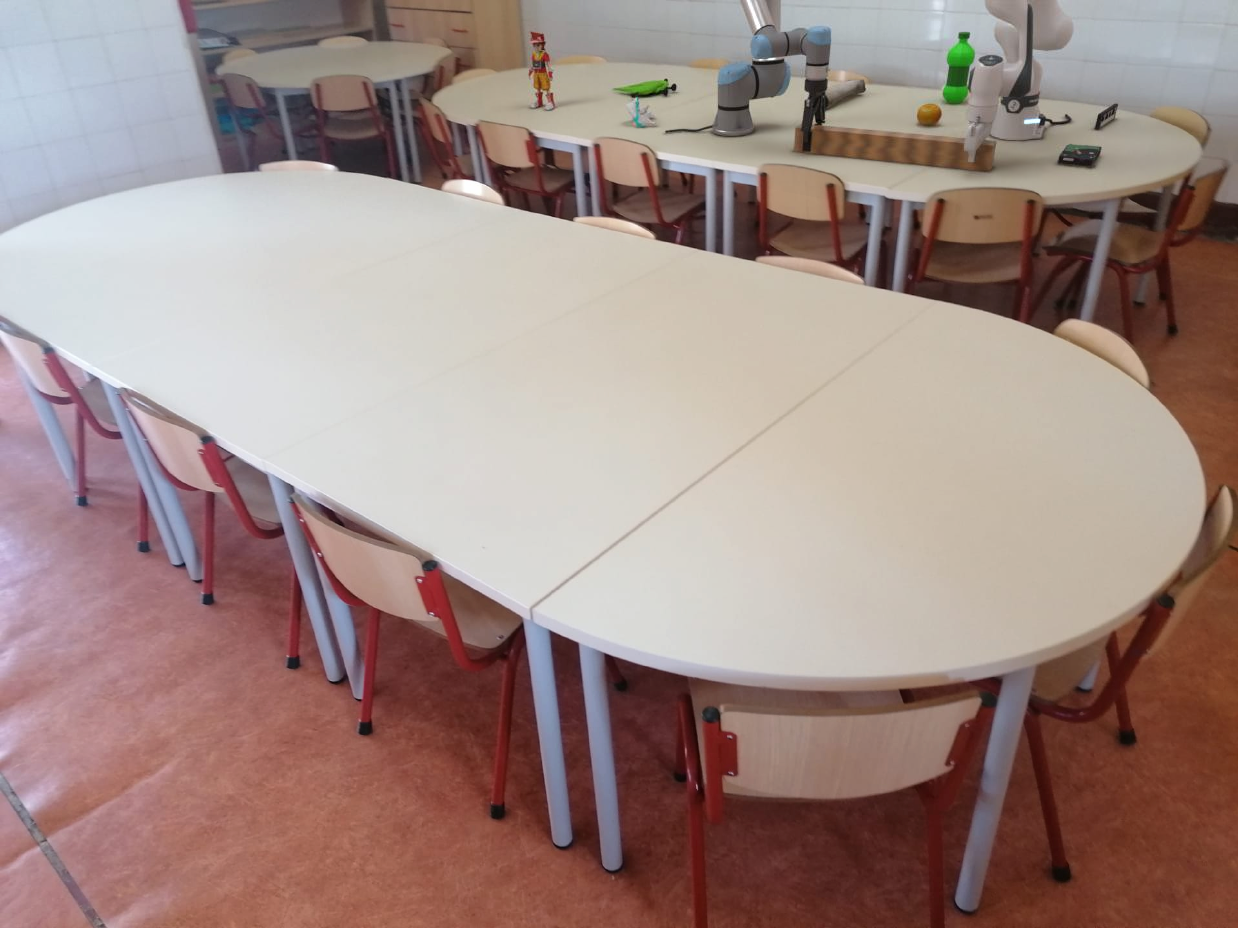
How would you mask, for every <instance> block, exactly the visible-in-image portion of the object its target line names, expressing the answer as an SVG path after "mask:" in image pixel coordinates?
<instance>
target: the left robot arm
mask: <svg viewBox="0 0 1238 928" xmlns="http://www.w3.org/2000/svg"><path fill="white" fill-rule="evenodd" d="M739 1H740V4H741V7H742V9H743V12H744V15H745V18H746V20H747V22H748V25H749V28H750V31H751V32H752V35H753V37H752V38H751V40H750V54H751V56H752V57H753V58H751V61H752V63H750V62H749V61H739V62H738V61H734V62H730V63H727V64H724V65H723V66H721V67H720V68H719V70H718V75H717V82H716V83H717V111H716V114H715V118H714V120H713V124H711V125H708V126H703V127H702V128H695V129H694V128H693V129H692V128H675V129H667V130H664V133H665V134H669V133H676V132H689V133H697V132H701V131H705V130H708V129H712V133H713V134H715V135H717V136H721V137H741V136H746V135H750V134H752V133H754V127H755V126H754V122H753V118H752V115H751V111H750V101H754V100H760V99H766V98H767V99H768V98H775V97H780V96H782V95H784V94H785V93H786V92H787V90H788V88H789V86H790V84H791V83H790V82H791V76H792V75H791V74H792V73H791V68H790V64H789V63H788V62H787V61H785V57H791V56H793V57H794V56H801V55H803V56H806V57H805V70H804V77H805V79H804V87H803V89H804V92H807V93H808V97H807V99H804V104H803V106H804V107H803V114H802V120H801V124H802V127H801V132H803V148H802V151H808V152H810V151H811V138H812V131H811V128H812V125H824V124H826V109H825V94H826V92H825V91H826V90H827V87H828V83H829V82H828V81H829V80H828V77H829V72H830V71H831V69H830V58H831V45H832V28H830V26H827V25H815V26H814V25H813V26H811V27H808V28H805V27H797V28H796V27H795V28H794V29H792V30H787V31H782V29H781V26H782V21H781V20H782V19H781V18H782V0H739ZM814 122H815V123H814ZM806 127H807V128H806Z"/></svg>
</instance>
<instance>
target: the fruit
mask: <svg viewBox="0 0 1238 928" xmlns="http://www.w3.org/2000/svg"><path fill="white" fill-rule="evenodd" d="M942 116H943V111H942V109H941V107H940V106H939V105H937V104H936V103H926V104H923V105H921V106H920V107H919V108H918V110H917V112H916V119H917V121H918V122H919V123H920V124H921V125H923V126H932V125H935V124H937V123H938V122H939V121H940V120H941V118H942Z"/></svg>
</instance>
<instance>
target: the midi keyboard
mask: <svg viewBox="0 0 1238 928" xmlns="http://www.w3.org/2000/svg"><path fill="white" fill-rule="evenodd" d="M1118 106H1119V103H1114V104H1112V105H1110V106H1109V107H1107V108H1106V109H1104V110H1103V111H1101V112H1099V113H1098V114H1097V116H1096V120H1095V121H1096V122H1095V126H1094V130H1100V129H1101V128H1102V127H1103V126H1104V125H1106V124H1108V123H1109V122H1111V121H1112V120H1113V119H1115V118H1116V115H1117V111H1118Z"/></svg>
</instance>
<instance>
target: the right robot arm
mask: <svg viewBox="0 0 1238 928" xmlns="http://www.w3.org/2000/svg"><path fill="white" fill-rule="evenodd" d="M1059 4H1060V3H1059V2H1058V0H984V6H985V9H986V10H987V11H988V13H989V14H990V15H992V16H993V17H995V18H997V20H996V22H995V25H994V28H993V34H994V39H995V41H996V43H998V45H999V46H1000V48H1001V49H1002V51H1003V54H1004V57H1005V60H1004V58H1003V57H1002V56H1000V55H997V54H986V55H983V56H981V57H979V58H978V59H977V61H976V64H975V66H974V67H973V68H972V69H971V70H969V76H968V82H967V86H968V92H969V93H970V97H969V99H968V102H967V107H966V112H965V120H966V121H968V127H967V130H966V134H965V138H966V139H965V144H964V151H968V155H969V157H968V162H974V160H975V153H976V150H977V149H978V148H979V146H980V145H981V143H982V142H983V141H984V140H987V138H988V137H989V136H992V137H993V138H996V139H1001V140H1006V141H1007V140H1008V141H1027V140H1035V139H1039V140H1040V139H1042V136H1043V133H1044V130H1045V124H1046V122H1048V123H1049V124H1050V125H1064V124H1069V123H1071V121H1072V117H1071V116H1069V114H1068V113H1065V114H1064V117H1065V119H1067V120H1061V121H1053V120H1052V119H1051V118H1047V117H1046V115H1044V114H1043V113H1041V110H1040V107H1039V105H1038V104H1039V101H1040V96H1041V95H1040V94H1041V90H1040V88H1041V82H1042V78H1043V66H1042V64H1041V63H1040V62H1038V60H1036V59H1035V57H1034V55H1033V53H1034V50H1036V51H1044V52H1051V51H1059V50H1062V49H1064V48H1065V47H1066V46H1067V45H1068V44H1069V43H1070V41H1071V40H1072V37H1073V35H1074V23H1073V21H1072V18H1070V17H1069V16H1068V15H1067V14H1066V13H1065V12H1064V11H1063V10H1062V8H1061V6H1060V5H1059ZM999 98H1000V100H999ZM999 101H1000V102H999ZM999 103H1000V104H999Z"/></svg>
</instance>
